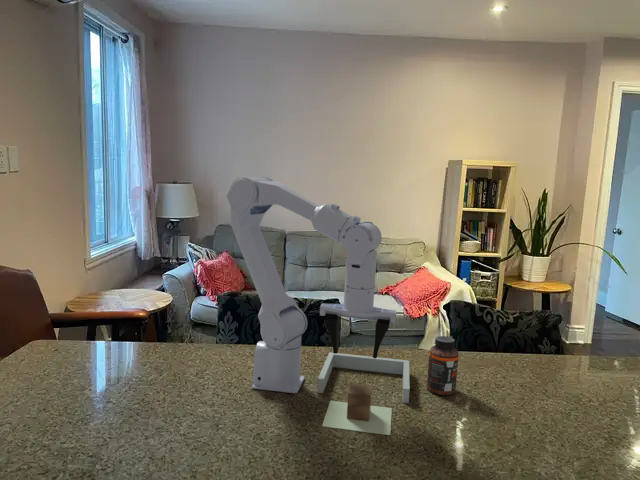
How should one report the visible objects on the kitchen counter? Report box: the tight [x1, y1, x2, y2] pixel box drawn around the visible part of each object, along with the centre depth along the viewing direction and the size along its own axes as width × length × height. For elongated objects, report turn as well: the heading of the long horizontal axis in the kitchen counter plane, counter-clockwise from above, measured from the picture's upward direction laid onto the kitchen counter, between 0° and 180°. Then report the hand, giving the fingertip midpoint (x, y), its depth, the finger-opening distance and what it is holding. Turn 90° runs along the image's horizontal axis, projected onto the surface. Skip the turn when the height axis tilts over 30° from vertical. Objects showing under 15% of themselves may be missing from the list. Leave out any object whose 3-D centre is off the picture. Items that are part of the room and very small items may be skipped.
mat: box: [321, 400, 393, 436], centre depth 90 cm, size 12×10×1 cm
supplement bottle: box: [426, 335, 459, 396], centre depth 102 cm, size 6×6×11 cm
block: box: [347, 383, 373, 422], centre depth 90 cm, size 4×4×5 cm
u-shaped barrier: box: [316, 351, 411, 404], centre depth 105 cm, size 18×15×3 cm
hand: (355, 354), depth 95 cm, fingers open, 7 cm apart
